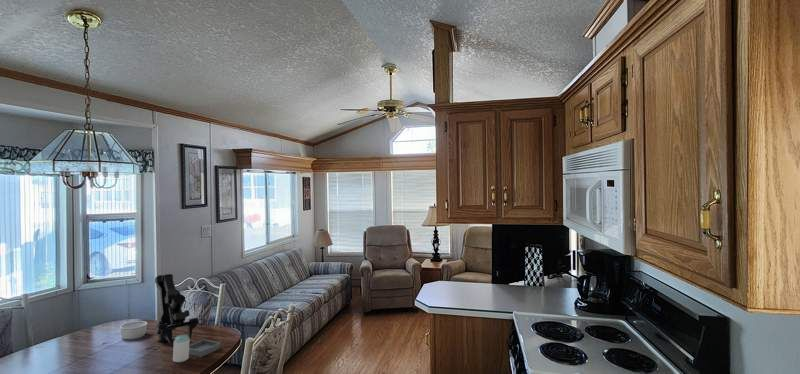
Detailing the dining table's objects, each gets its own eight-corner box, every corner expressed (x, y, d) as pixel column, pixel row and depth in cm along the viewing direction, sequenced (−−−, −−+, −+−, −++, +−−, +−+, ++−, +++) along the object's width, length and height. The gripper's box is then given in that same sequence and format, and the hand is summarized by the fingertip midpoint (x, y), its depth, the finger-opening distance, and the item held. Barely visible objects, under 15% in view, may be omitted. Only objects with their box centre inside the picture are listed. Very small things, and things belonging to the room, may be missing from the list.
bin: (183, 352, 199) (183, 347, 199) (203, 344, 211) (203, 339, 211) (201, 357, 194) (201, 351, 195) (220, 348, 206) (220, 342, 206)
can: (191, 359, 192) (192, 335, 192) (178, 364, 186) (179, 340, 186) (183, 356, 195) (184, 333, 196) (169, 361, 189) (170, 337, 189)
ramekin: (151, 335, 222) (151, 323, 222) (125, 342, 211) (126, 330, 211) (140, 330, 229) (141, 319, 229) (115, 337, 218) (116, 325, 218)
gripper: (158, 309, 190) (162, 336, 182) (198, 302, 203) (204, 328, 195) (154, 320, 195) (158, 348, 187) (193, 313, 208) (198, 339, 200)
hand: (180, 340), depth 192 cm, fingers open, 9 cm apart
